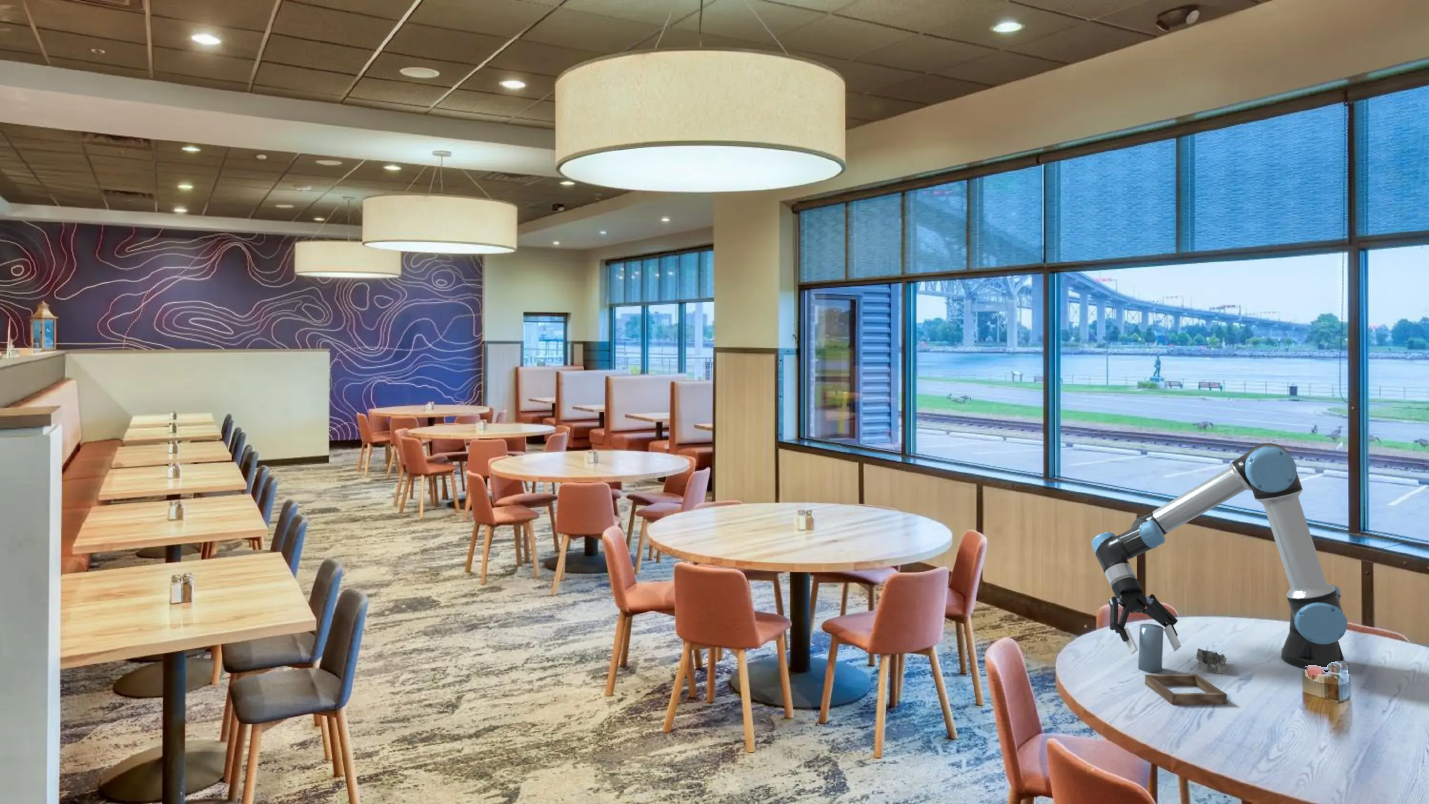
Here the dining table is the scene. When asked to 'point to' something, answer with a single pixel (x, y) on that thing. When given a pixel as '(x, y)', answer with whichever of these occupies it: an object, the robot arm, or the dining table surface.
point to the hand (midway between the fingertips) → (1156, 650)
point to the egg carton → (1211, 661)
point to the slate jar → (1150, 648)
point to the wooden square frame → (1210, 697)
